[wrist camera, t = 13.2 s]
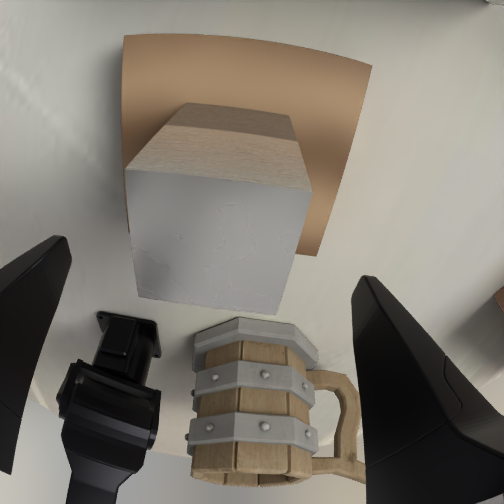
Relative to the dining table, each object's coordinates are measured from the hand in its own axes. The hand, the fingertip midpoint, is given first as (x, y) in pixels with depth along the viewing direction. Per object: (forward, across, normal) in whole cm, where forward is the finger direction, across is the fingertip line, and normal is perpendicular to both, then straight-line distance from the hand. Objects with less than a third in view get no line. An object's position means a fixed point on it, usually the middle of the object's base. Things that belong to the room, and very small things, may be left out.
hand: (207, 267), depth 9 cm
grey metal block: (+9, 0, 0) cm, 9 cm away
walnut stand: (+12, 0, 0) cm, 12 cm away
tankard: (+12, -8, +23) cm, 27 cm away
